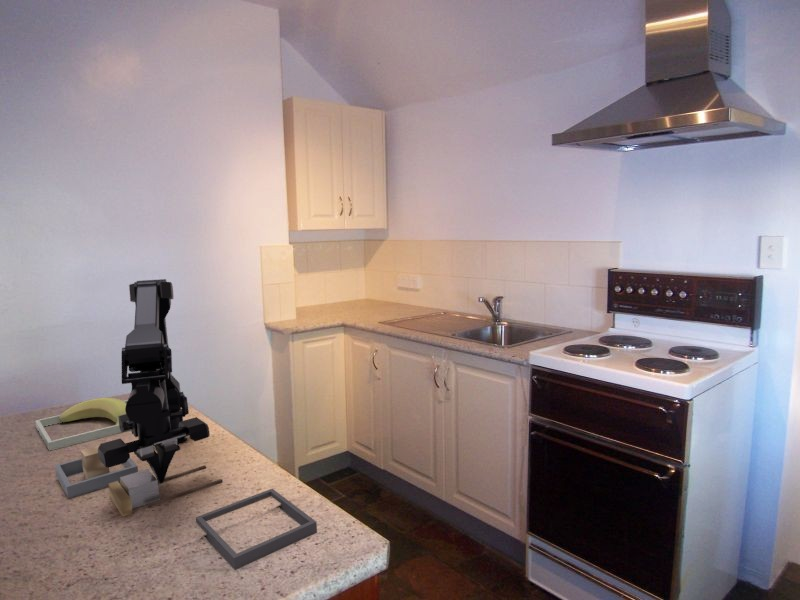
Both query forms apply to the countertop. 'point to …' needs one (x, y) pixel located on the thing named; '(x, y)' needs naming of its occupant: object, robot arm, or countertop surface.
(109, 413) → the banana
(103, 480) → the tray
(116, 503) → the track
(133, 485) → the grey small block
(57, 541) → the countertop surface
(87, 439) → the fruit rim
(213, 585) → the countertop surface
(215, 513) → the dark grey square frame
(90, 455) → the block
